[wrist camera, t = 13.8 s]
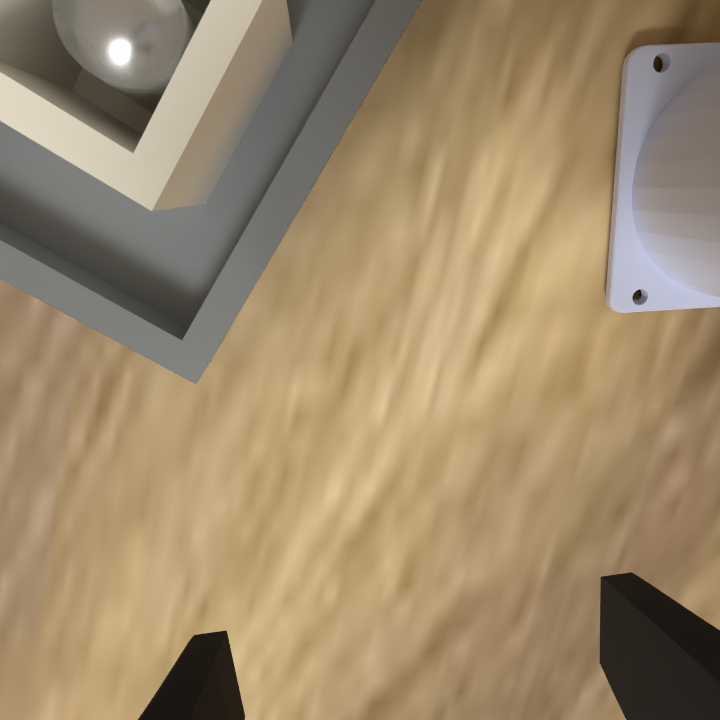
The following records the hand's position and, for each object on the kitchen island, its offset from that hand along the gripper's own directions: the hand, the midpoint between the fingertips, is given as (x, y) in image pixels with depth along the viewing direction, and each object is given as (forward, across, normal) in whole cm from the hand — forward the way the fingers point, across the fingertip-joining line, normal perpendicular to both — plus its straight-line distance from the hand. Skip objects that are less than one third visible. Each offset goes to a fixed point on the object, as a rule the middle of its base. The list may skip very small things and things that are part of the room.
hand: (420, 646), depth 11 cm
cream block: (+10, +5, -12) cm, 16 cm away
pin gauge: (+9, +4, -12) cm, 16 cm away
